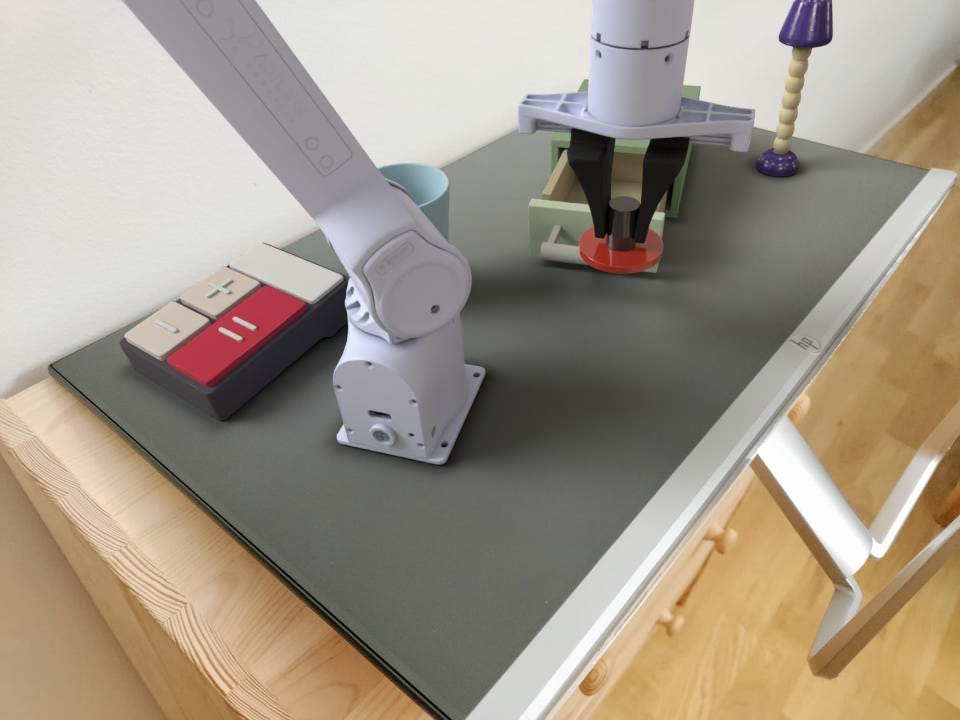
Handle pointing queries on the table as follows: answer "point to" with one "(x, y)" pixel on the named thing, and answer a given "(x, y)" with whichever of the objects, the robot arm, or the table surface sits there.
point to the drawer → (580, 209)
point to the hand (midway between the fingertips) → (622, 233)
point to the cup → (424, 190)
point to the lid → (621, 241)
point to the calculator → (238, 328)
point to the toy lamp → (796, 77)
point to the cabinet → (635, 147)
